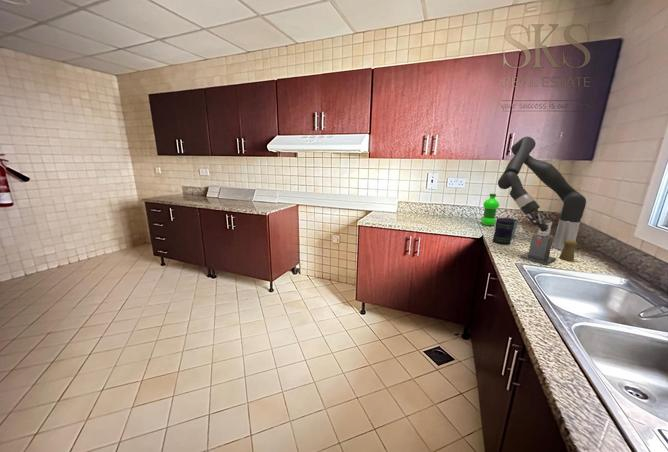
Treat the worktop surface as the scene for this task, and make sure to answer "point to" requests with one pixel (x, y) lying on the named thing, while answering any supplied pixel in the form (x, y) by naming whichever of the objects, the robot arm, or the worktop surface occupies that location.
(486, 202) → the plastic bottle
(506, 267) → the worktop surface
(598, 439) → the worktop surface
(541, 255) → the stand base
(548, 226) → the column
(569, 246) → the cork
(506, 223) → the storage jar
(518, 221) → the drinking glass
